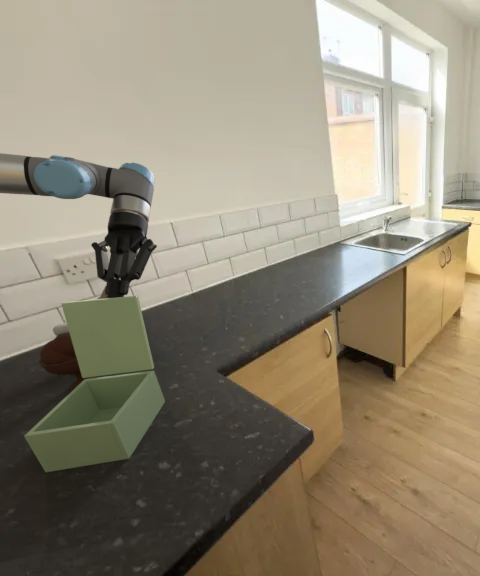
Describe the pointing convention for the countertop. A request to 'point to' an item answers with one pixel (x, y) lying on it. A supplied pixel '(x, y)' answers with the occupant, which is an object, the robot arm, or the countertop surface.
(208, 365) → the countertop surface
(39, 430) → the chest
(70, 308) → the chest lid
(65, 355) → the ice cream bowl
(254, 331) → the countertop surface
